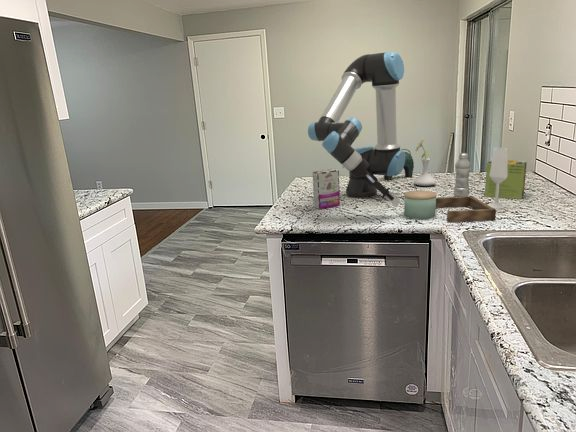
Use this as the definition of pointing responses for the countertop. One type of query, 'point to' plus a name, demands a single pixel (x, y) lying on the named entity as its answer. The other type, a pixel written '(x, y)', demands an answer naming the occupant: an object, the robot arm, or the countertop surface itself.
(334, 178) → the candy bar box
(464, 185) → the plastic bottle
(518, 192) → the protein box
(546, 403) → the countertop surface
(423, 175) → the flower in vase
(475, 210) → the walnut bay
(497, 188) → the champagne flute
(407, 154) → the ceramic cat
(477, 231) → the countertop surface
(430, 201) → the green canister
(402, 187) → the countertop surface
